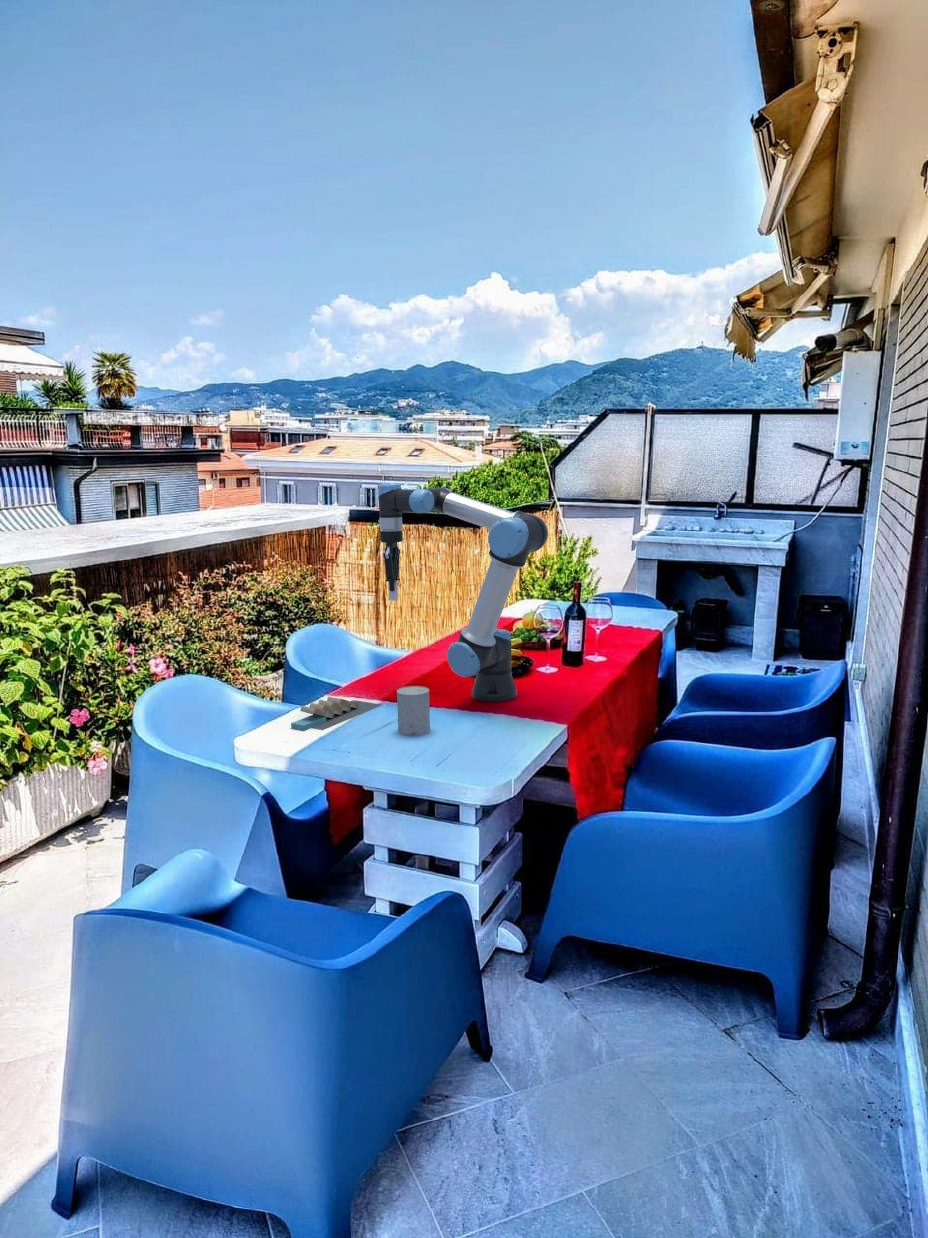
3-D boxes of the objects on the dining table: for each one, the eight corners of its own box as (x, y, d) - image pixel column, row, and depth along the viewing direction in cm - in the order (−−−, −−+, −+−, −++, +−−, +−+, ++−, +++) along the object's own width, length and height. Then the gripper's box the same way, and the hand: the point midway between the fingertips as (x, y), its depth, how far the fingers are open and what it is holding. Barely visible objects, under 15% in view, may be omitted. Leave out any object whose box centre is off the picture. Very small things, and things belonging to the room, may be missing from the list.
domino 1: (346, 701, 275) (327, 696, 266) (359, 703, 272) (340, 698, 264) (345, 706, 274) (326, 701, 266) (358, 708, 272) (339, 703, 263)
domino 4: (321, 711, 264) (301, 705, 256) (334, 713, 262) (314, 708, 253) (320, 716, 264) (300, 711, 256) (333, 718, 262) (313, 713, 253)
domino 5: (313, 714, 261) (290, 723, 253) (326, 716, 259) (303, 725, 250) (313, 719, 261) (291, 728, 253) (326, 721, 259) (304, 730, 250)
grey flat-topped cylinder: (418, 737, 246) (416, 696, 243) (391, 732, 250) (390, 692, 248) (436, 728, 253) (435, 688, 251) (410, 724, 258) (409, 684, 256)
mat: (353, 702, 282) (353, 700, 282) (383, 707, 276) (383, 704, 276) (291, 727, 257) (291, 724, 257) (322, 733, 251) (322, 730, 251)
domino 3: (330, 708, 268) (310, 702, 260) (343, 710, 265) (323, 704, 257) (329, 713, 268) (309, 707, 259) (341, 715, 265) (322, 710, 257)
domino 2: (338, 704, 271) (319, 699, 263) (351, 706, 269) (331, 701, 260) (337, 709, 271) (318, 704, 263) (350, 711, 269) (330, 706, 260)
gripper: (385, 528, 290) (388, 597, 294) (374, 531, 278) (377, 603, 282) (406, 528, 289) (409, 597, 293) (396, 531, 276) (399, 603, 280)
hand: (393, 600), depth 287 cm, fingers closed
